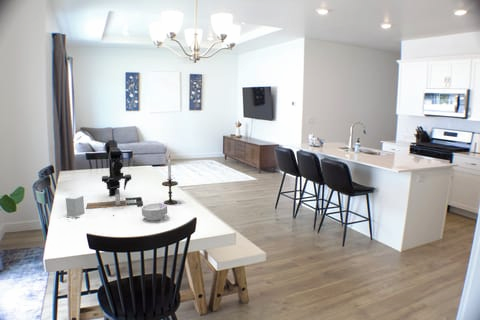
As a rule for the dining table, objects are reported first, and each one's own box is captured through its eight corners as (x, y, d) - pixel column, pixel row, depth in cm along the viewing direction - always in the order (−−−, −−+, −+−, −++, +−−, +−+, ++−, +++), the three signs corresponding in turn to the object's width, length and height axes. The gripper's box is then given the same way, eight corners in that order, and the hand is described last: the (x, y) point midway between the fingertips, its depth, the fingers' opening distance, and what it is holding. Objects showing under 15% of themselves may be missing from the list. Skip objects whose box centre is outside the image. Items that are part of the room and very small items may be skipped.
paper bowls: (137, 218, 222) (136, 205, 221) (158, 213, 233) (158, 201, 231) (150, 224, 211) (150, 211, 210) (172, 218, 222) (172, 206, 221)
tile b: (128, 204, 249) (128, 202, 248) (134, 204, 250) (134, 202, 250) (128, 206, 245) (128, 204, 245) (135, 205, 246) (134, 203, 246)
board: (87, 205, 248) (87, 203, 248) (125, 202, 256) (125, 200, 256) (85, 211, 235) (85, 209, 235) (126, 207, 243) (126, 205, 243)
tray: (126, 202, 256) (125, 198, 256) (141, 201, 260) (141, 196, 259) (126, 207, 243) (126, 203, 243) (143, 206, 246) (142, 202, 246)
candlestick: (176, 200, 262) (175, 152, 257) (179, 204, 252) (178, 154, 247) (161, 201, 258) (159, 153, 253) (164, 205, 248) (162, 155, 243)
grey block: (115, 201, 252) (115, 188, 250) (120, 201, 253) (119, 188, 251) (115, 205, 242) (115, 192, 241) (120, 205, 243) (119, 192, 242)
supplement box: (85, 215, 227) (83, 195, 225) (76, 219, 220) (74, 198, 218) (75, 214, 230) (74, 194, 227) (66, 217, 223) (65, 197, 221)
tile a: (128, 202, 254) (128, 200, 254) (134, 202, 255) (134, 199, 255) (128, 204, 250) (128, 201, 250) (134, 203, 252) (134, 201, 251)
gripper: (100, 170, 233) (102, 194, 235) (131, 169, 239) (132, 192, 241) (101, 167, 243) (102, 190, 246) (130, 166, 249) (131, 188, 252)
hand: (117, 190), depth 246 cm, fingers open, 9 cm apart
